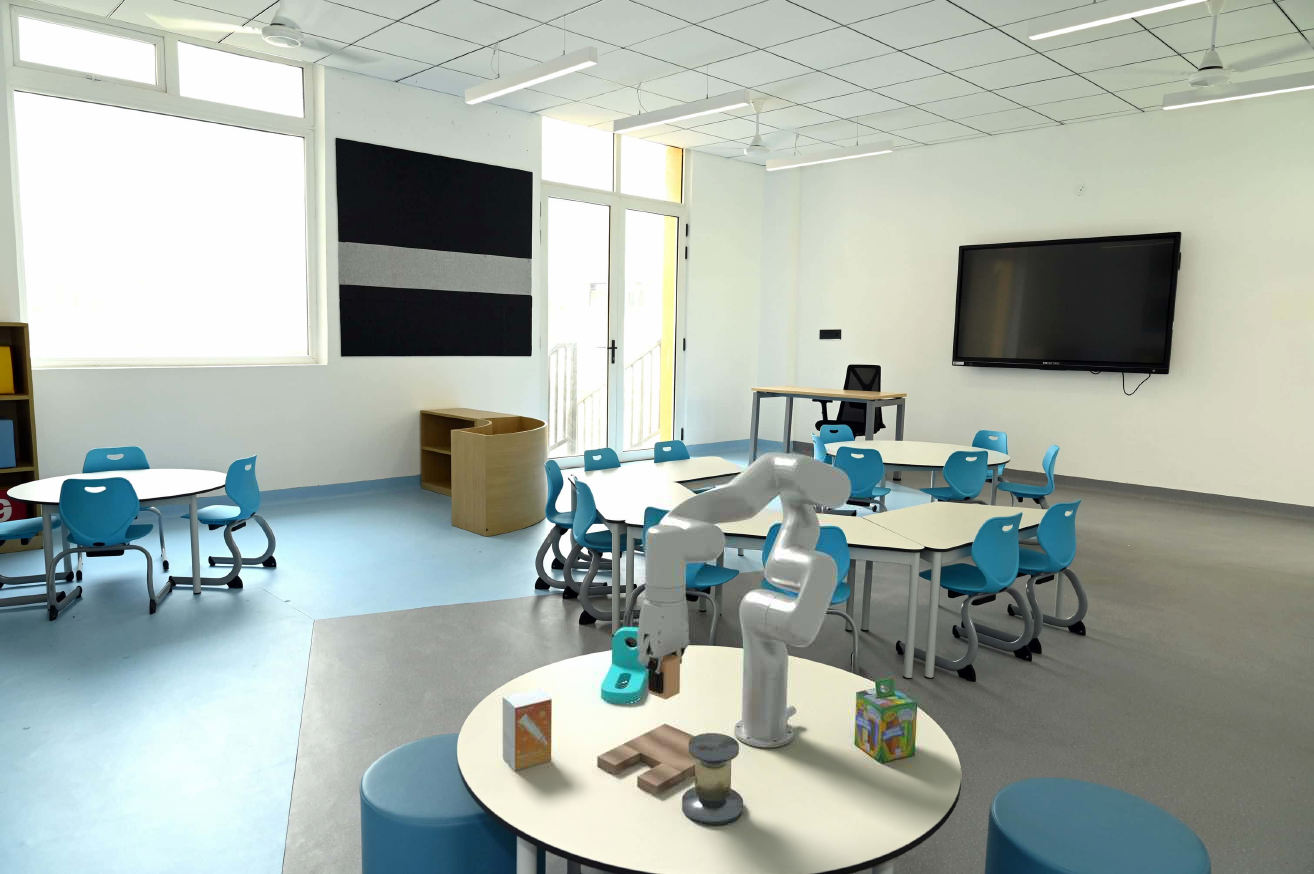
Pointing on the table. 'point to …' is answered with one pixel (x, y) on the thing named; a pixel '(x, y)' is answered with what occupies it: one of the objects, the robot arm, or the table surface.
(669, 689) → the light orange block
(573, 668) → the table surface
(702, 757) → the bobbin
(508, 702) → the small box
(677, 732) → the notched board
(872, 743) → the chalk box
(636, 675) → the bracket
